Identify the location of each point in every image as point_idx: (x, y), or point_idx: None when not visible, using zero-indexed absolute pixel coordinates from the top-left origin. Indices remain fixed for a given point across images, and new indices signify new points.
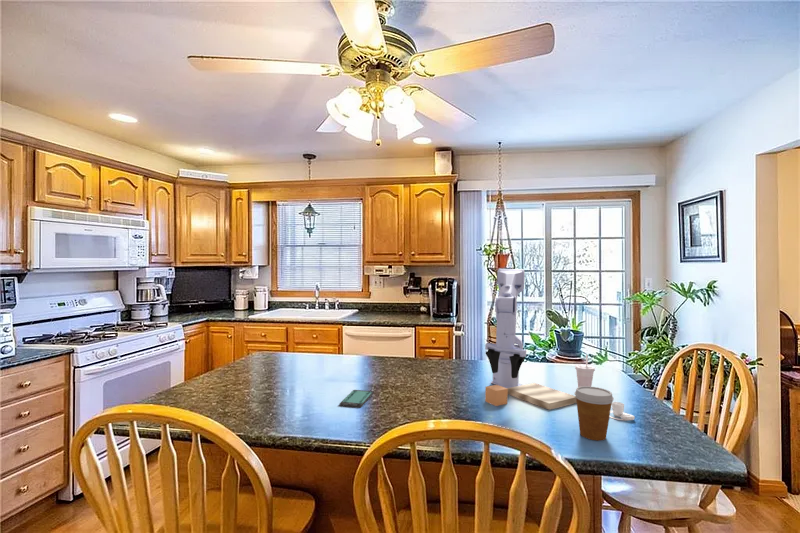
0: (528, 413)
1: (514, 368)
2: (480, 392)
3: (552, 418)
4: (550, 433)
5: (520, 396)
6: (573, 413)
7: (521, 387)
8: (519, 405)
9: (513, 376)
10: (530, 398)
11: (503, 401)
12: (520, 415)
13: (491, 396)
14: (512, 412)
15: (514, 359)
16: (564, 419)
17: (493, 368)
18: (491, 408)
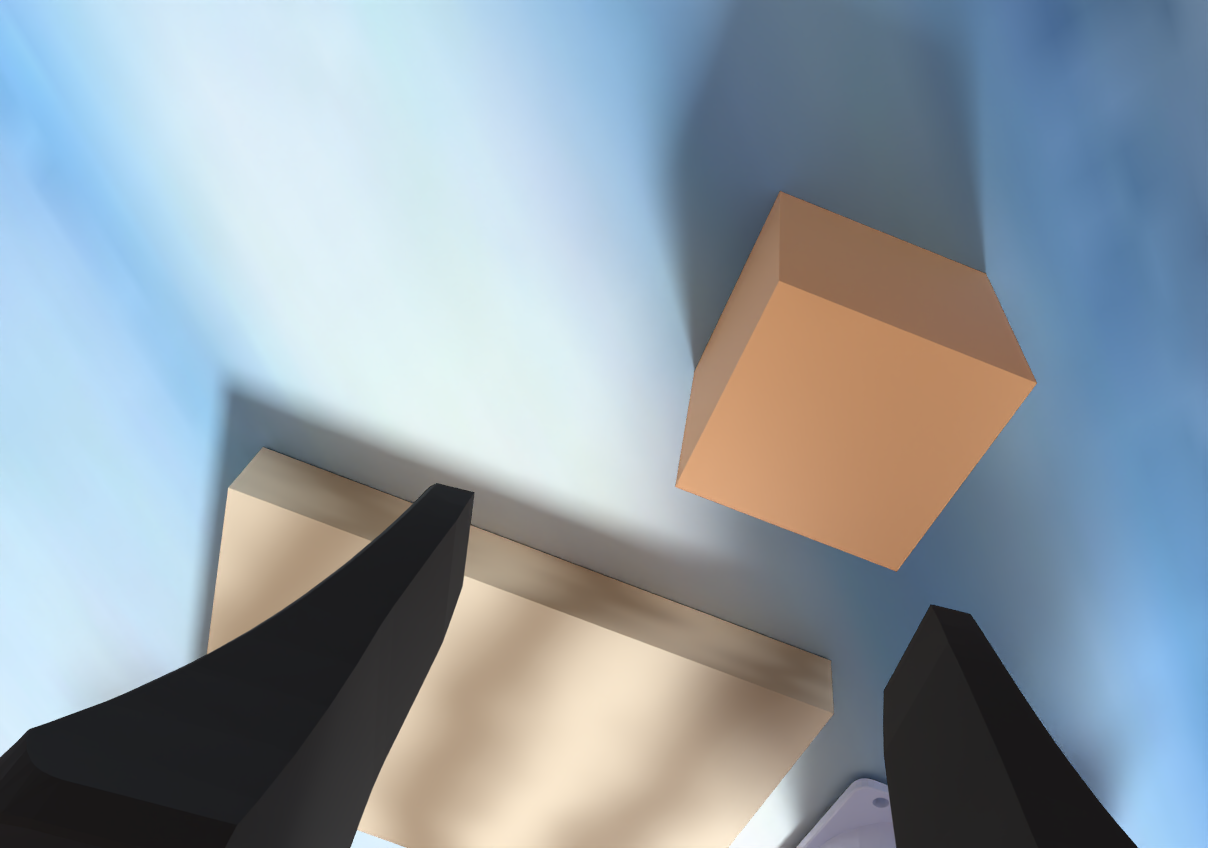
0: (340, 200)
1: (295, 602)
2: (1157, 561)
3: (88, 220)
4: None
5: (635, 608)
6: (76, 481)
7: (702, 791)
8: (552, 396)
9: (416, 500)
10: (491, 569)
11: (719, 332)
12: (364, 56)
13: (878, 269)
14: (494, 96)
15: (53, 752)
16: (8, 272)
17: (954, 680)
18: (799, 46)
